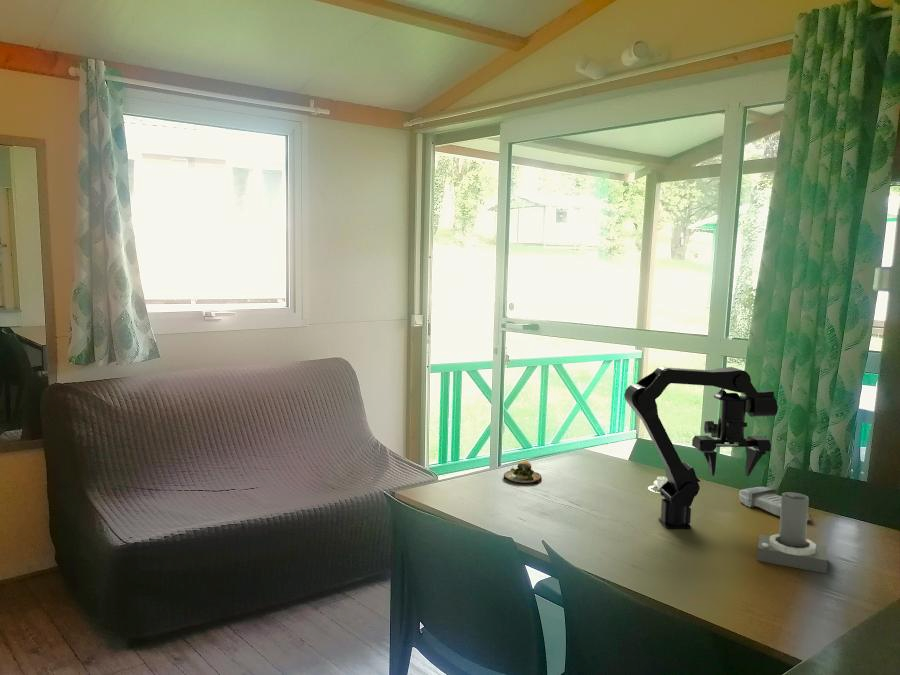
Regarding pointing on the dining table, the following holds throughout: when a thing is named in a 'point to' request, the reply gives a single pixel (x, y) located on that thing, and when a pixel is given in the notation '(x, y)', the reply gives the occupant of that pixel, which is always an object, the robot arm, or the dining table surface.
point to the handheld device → (763, 499)
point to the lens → (793, 520)
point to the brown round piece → (523, 473)
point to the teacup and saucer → (658, 483)
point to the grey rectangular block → (792, 554)
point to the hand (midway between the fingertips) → (729, 475)
